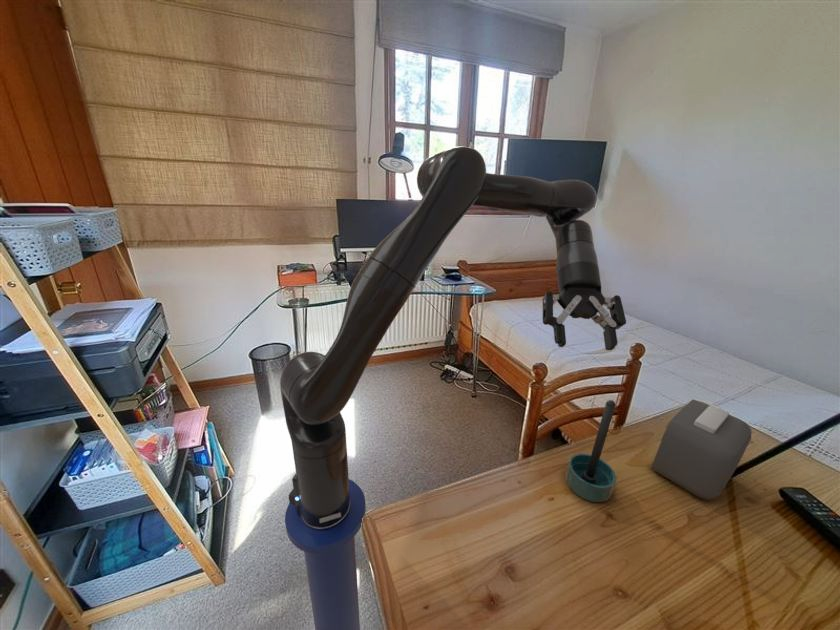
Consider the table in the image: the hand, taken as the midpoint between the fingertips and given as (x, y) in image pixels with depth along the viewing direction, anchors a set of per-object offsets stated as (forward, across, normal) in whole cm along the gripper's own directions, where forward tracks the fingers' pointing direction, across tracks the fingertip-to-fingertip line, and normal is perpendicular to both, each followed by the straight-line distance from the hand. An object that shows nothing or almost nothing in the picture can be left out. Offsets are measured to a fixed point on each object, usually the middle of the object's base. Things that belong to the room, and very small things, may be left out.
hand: (586, 347), depth 61 cm
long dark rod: (+23, +7, +22) cm, 33 cm away
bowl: (+23, +7, +23) cm, 33 cm away
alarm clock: (+19, +32, +27) cm, 46 cm away
